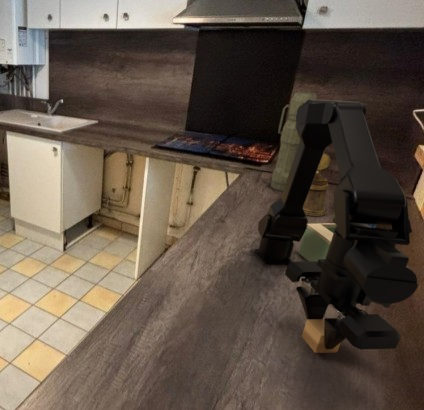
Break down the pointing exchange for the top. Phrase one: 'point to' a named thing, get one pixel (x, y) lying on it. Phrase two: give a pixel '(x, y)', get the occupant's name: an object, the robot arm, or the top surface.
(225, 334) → the top surface
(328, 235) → the lid
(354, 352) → the top surface
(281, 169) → the thermos
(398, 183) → the robot arm
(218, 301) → the top surface
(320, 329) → the block
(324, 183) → the wooden mug
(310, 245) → the green box
